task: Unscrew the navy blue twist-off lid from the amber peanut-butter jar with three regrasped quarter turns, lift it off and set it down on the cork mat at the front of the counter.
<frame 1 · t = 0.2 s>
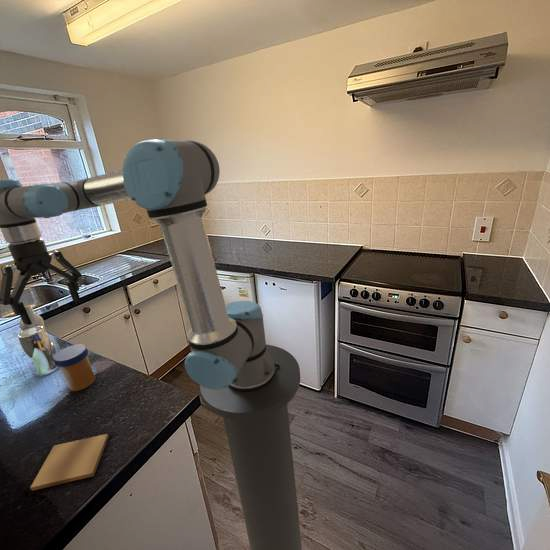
hand: (54, 312, 86), 23 cm above the countertop, tool pointing down, fingers open, 13 cm apart
mat: (73, 461, 67), on the countertop
plastic bottle: (47, 358, 107), on the countertop
jar: (82, 382, 92), on the countertop
beer glass: (48, 370, 100), on the countertop
lid: (70, 353, 88), point 11 cm above the countertop, screwed on, not yet turned
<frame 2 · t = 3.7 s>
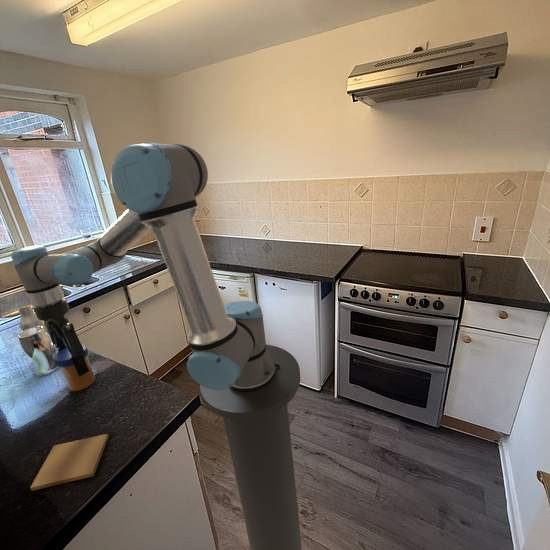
hand: (76, 368, 90), 5 cm above the countertop, tool pointing down, fingers closed on lid, 8 cm apart
lid: (70, 353, 88), point 11 cm above the countertop, screwed on, not yet turned, touching gripper
everything else where it was.
when the fingers open (5 cm above the countertop, at t = 5.7 s): lid stays where it is, point 11 cm above the countertop.
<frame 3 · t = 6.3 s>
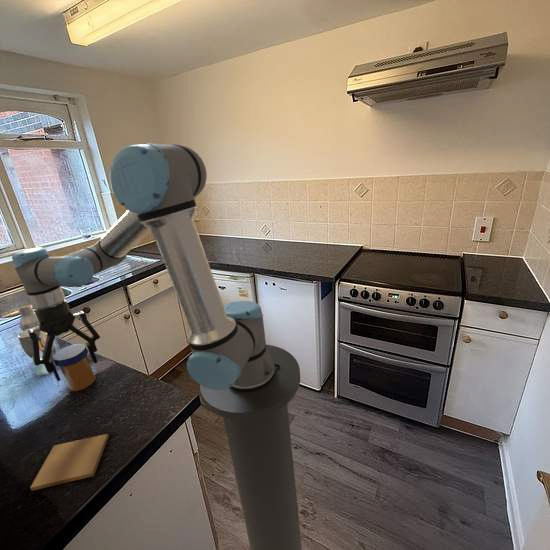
hand: (77, 369, 90), 5 cm above the countertop, tool pointing down, fingers open, 9 cm apart
lid: (70, 352, 88), point 11 cm above the countertop, turned 90° so far, risen 0.2 cm, still on its thread
everything else where it was.
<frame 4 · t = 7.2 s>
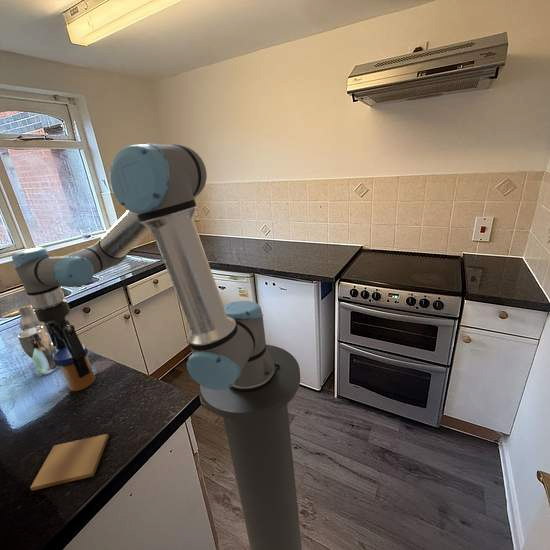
hand: (77, 370, 90), 5 cm above the countertop, tool pointing down, fingers closed on lid, 8 cm apart
lid: (70, 352, 88), point 11 cm above the countertop, turned 90° so far, risen 0.2 cm, still on its thread, touching gripper
everything else where it was.
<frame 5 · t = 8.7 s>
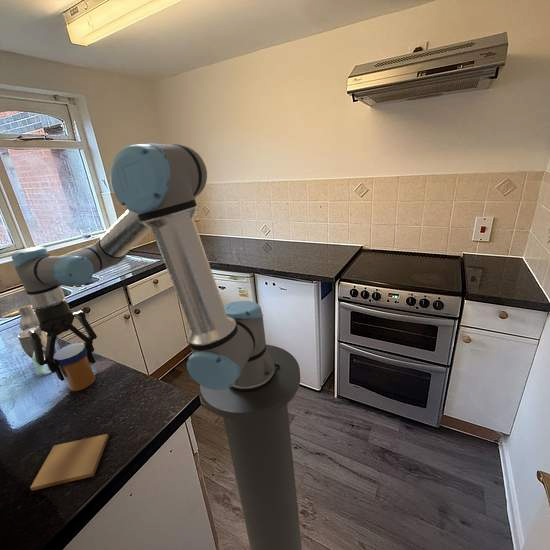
hand: (77, 369, 90), 5 cm above the countertop, tool pointing down, fingers closed on lid, 8 cm apart
lid: (69, 352, 88), point 11 cm above the countertop, off its thread, touching gripper
everything else where it was.
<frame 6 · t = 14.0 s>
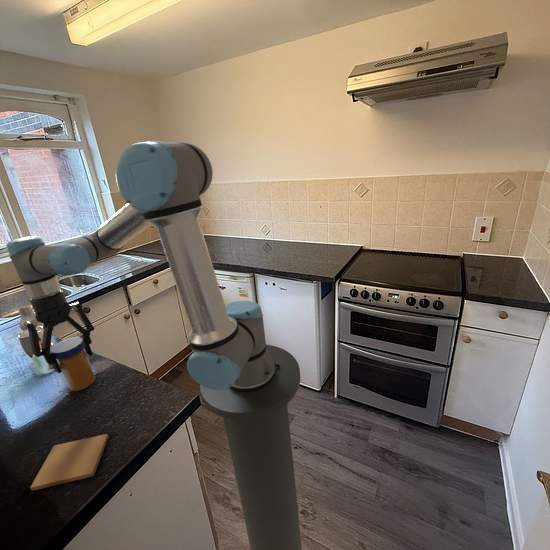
hand: (74, 362, 89), 8 cm above the countertop, tool pointing down, fingers closed on lid, 8 cm apart
lid: (67, 345, 87), point 14 cm above the countertop, off its thread, touching gripper
everything else where it was.
when the fingers open (1 cm above the countertop, at t = 21.6 s): lid drops 5 cm, resting on mat.
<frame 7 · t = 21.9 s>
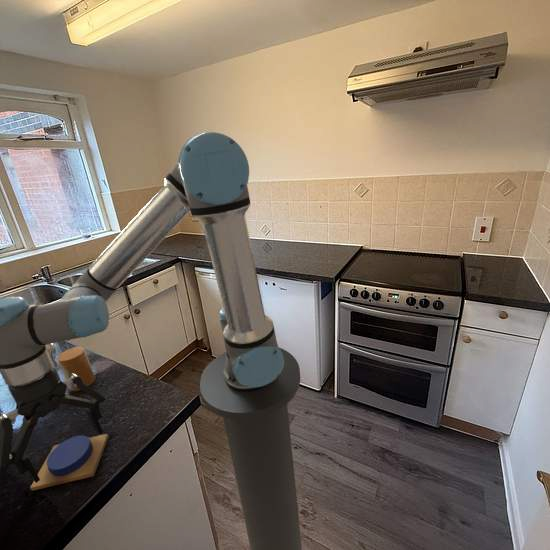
hand: (69, 453, 66), 3 cm above the countertop, tool pointing down, fingers open, 12 cm apart
lid: (69, 452, 66), point 3 cm above the countertop, off its thread, touching mat
everything else where it was.
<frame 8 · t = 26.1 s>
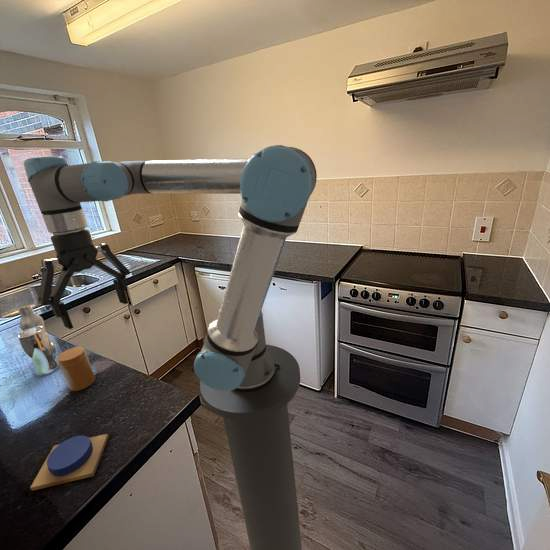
hand: (98, 314, 75), 27 cm above the countertop, tool pointing down, fingers open, 13 cm apart
nothing on the countertop moved.
at the end: lid came off its thread; lid inside the target area on the mat (0.1 cm from its centre), point 2.7 cm above the mat's base; the gripper is holding nothing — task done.
